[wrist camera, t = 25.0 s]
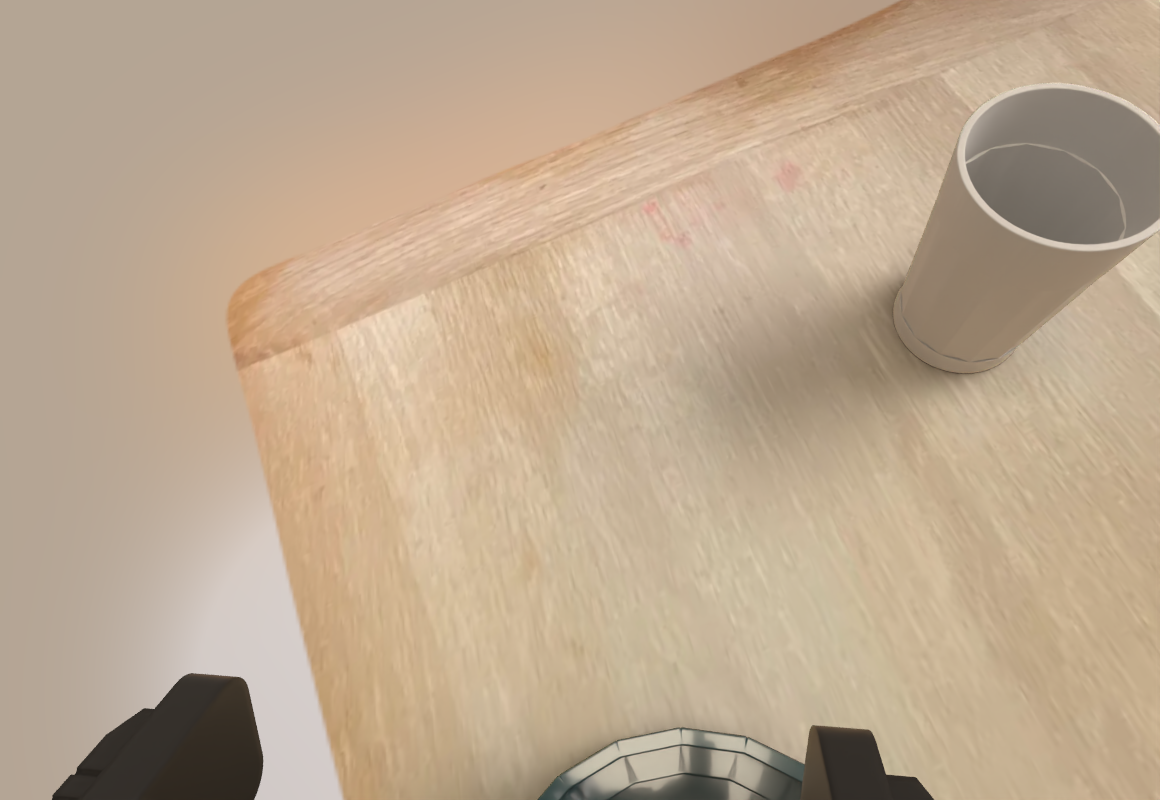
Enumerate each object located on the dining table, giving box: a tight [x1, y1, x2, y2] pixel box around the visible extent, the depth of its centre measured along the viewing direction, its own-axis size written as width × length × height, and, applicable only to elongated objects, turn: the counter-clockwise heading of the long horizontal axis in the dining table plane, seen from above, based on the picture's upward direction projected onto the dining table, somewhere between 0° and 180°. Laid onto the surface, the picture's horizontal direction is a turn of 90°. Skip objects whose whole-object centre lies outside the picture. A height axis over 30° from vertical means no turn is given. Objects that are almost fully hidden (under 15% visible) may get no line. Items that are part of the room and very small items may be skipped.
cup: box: [893, 83, 1160, 373], centre depth 34 cm, size 8×8×12 cm
